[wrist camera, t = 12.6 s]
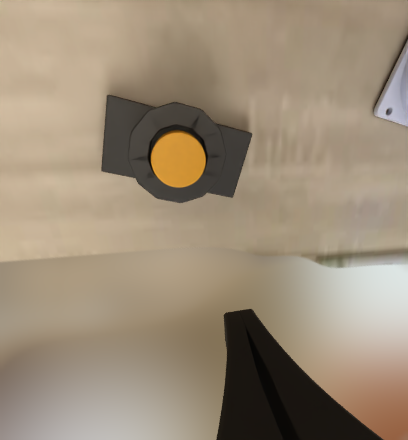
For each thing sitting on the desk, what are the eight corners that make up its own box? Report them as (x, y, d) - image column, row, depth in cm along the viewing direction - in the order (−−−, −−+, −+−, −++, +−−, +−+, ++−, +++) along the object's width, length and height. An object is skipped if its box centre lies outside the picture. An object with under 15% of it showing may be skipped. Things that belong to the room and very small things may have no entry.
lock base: (251, 124, 17) (265, 127, 15) (228, 200, 20) (237, 214, 17) (111, 85, 15) (98, 80, 13) (104, 175, 18) (91, 187, 15)
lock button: (207, 137, 15) (212, 140, 13) (196, 184, 16) (198, 192, 15) (157, 124, 14) (155, 125, 13) (149, 174, 15) (146, 182, 14)
